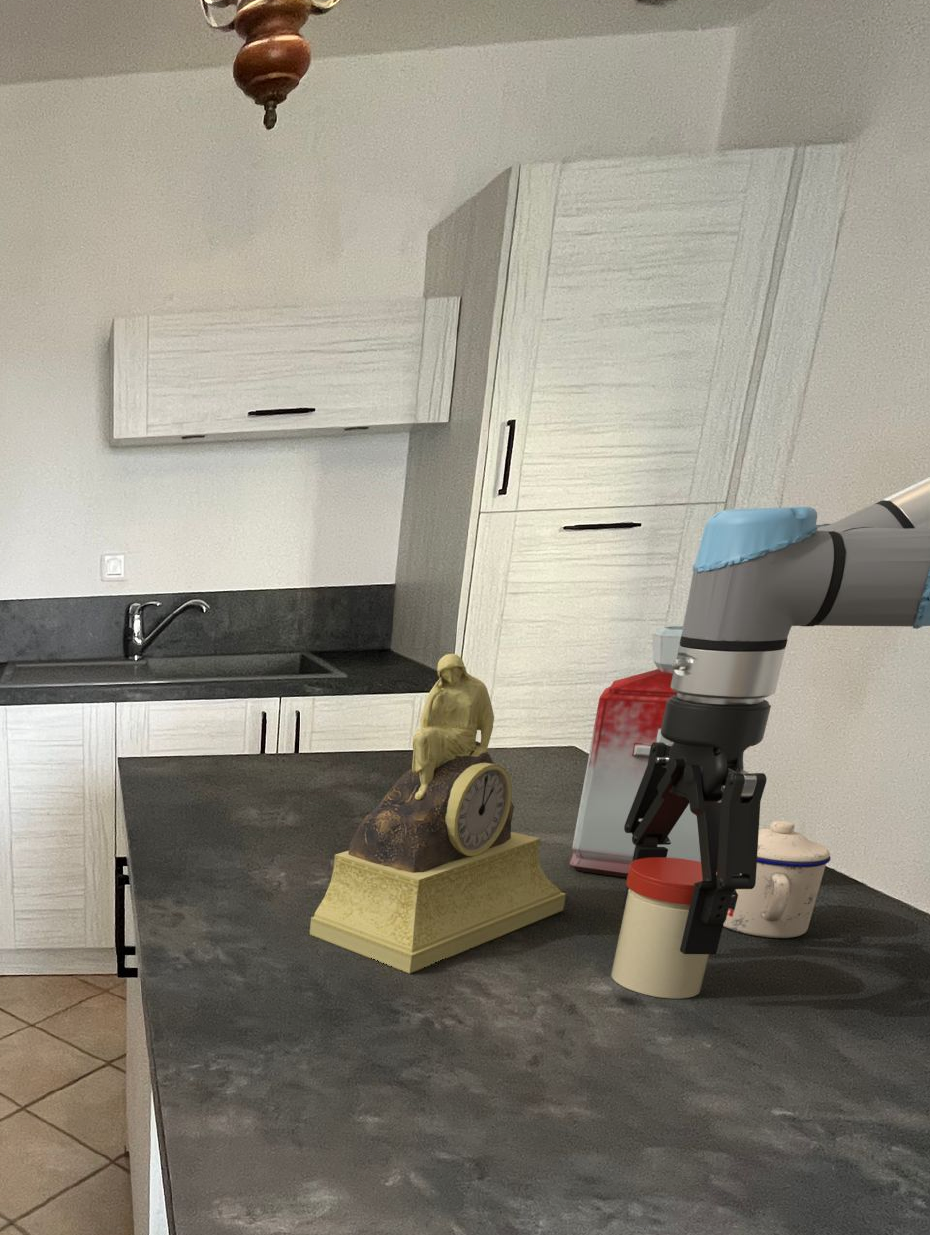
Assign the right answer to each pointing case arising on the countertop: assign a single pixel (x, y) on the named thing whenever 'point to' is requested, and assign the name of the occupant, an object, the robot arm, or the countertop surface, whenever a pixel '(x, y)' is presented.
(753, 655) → the robot arm
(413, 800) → the decorative clock
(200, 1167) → the countertop surface
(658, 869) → the lid
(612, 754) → the bottle
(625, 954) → the jar
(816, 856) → the teacup with lid
